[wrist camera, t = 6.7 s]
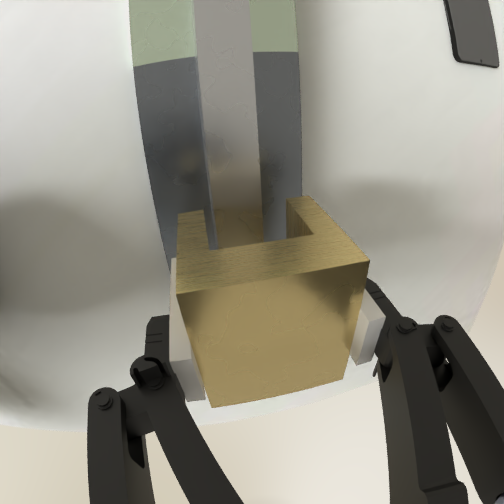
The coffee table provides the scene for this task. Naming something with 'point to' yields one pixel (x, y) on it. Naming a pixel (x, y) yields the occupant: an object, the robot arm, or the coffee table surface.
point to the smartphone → (472, 32)
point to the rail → (185, 145)
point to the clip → (270, 305)
